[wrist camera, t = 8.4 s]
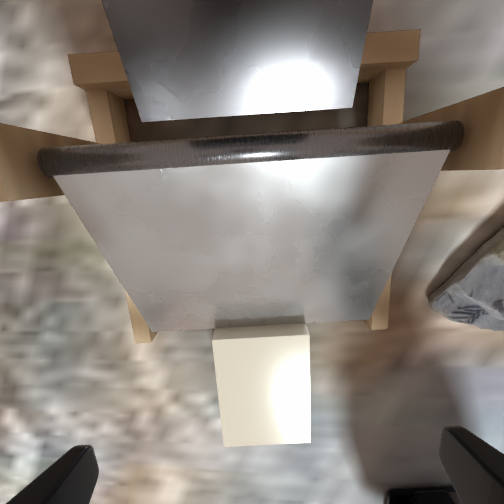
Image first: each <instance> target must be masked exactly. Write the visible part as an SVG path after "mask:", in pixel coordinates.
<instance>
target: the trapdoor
mask: <svg viewBox="0 0 504 504" xmlns="http://www.w3.org/2000/svg"><path fill="white" fill-rule="evenodd" d="M102 3H103V6H104V9H105V12H106V15H107V18H108V21H109V24H110V27H111V30H112V33H113V36H114V39H115V42H116V45H117V48H118V51H119V54H120V58H121V61H122V64H123V67H124V70H125V73H126V76H127V79H128V82H129V85H130V88H131V91H132V94H133V97H134V100H135V103H136V106H137V109H138V112H139V115H140V119H141V122H150V121H164V120H179V119H194V118H208V117H223V116H238V115H252V114H267V113H281V112H296V111H311V110H325V109H340V108H352V107H353V101H354V96H355V91H356V86H357V81H358V75H359V70H360V65H361V60H362V55H363V49H364V44H365V39H366V34H367V29H368V23H369V18H370V13H371V8H372V3H373V0H102ZM463 138H464V126H463V124H462V122H461V121H459V120H451V121H436V122H421V123H407V124H392V125H377V126H362V127H347V128H332V129H318V130H303V131H288V132H273V133H258V134H243V135H229V136H214V137H199V138H184V139H169V140H154V141H139V142H125V143H110V144H95V145H80V146H65V147H50V148H42V149H40V150H39V152H38V155H37V160H38V165H39V167H40V169H41V171H42V172H43V174H44V175H45V176H47V177H48V178H55V180H56V182H57V183H58V185H59V186H60V188H61V189H62V191H63V193H64V194H65V196H66V197H67V199H68V200H69V202H70V204H71V205H72V207H73V208H74V210H75V211H76V213H77V215H78V216H79V218H80V219H81V221H82V223H83V224H84V226H85V227H86V229H87V230H88V232H89V234H90V235H91V237H92V238H93V240H94V241H95V243H96V245H97V246H98V248H99V249H100V251H101V252H102V254H103V256H104V257H105V259H106V260H107V262H108V263H109V265H110V267H111V268H112V270H113V271H114V273H115V274H116V276H117V278H118V279H119V281H120V282H121V284H122V285H123V287H124V289H125V290H126V292H127V293H128V295H129V296H130V298H131V300H132V301H133V303H134V304H135V306H136V308H137V309H138V311H139V312H140V314H141V315H142V317H143V319H144V320H145V322H146V323H147V325H148V326H149V328H150V330H151V331H152V332H160V331H178V330H195V329H212V328H228V327H246V326H263V325H280V324H298V323H317V322H334V321H351V320H369V319H370V317H371V315H372V313H373V311H374V309H375V306H376V304H377V302H378V300H379V298H380V296H381V294H382V292H383V290H384V288H385V286H386V283H387V281H388V279H389V277H390V275H391V273H392V271H393V269H394V267H395V265H396V263H397V260H398V258H399V256H400V254H401V252H402V250H403V248H404V246H405V244H406V242H407V240H408V237H409V235H410V233H411V231H412V229H413V227H414V225H415V223H416V221H417V219H418V216H419V214H420V212H421V210H422V208H423V206H424V204H425V202H426V200H427V198H428V196H429V193H430V191H431V189H432V187H433V185H434V183H435V181H436V179H437V177H438V175H439V173H440V170H441V168H442V166H443V164H444V162H445V160H446V158H447V156H448V154H449V152H454V151H456V150H457V149H458V148H459V146H460V145H461V143H462V141H463Z"/></svg>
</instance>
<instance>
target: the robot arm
mask: <svg viewBox="0 0 504 504" xmlns="http://www.w3.org/2000/svg"><path fill="white" fill-rule="evenodd" d="M439 453H440V458H441V461H442V464H443V466H444V468H445V470H446V472H447V474H448V476H449V478H450V480H451V482H452V484H453V486H454V487H440V488H419V489H399V490H391V491H389V492H388V493H387V502H386V504H504V454H503V453H501V452H500V451H498V450H497V449H495V448H494V447H492V446H491V445H489V444H488V443H486V442H485V441H483V440H482V439H480V438H479V437H477V436H476V435H474V434H473V433H471V432H470V431H468V430H467V429H465V428H463V427H461V426H447V427H444V428H443V430H442V436H441V442H440V449H439ZM98 474H99V468H98V464H97V460H96V456H95V453H94V449H93V447H92V446H91V445H77V446H74V447H73V448H71V449H70V450H69V451H68V452H66V453H65V454H64V455H63V456H62V457H61V458H59V459H58V460H57V461H56V462H55V463H53V464H52V465H51V466H50V467H49V468H48V469H46V470H45V471H44V472H43V473H42V474H40V475H39V476H38V477H37V478H36V479H35V480H33V481H32V482H31V483H30V484H29V485H27V486H26V487H25V488H24V489H23V490H22V491H20V492H19V493H18V494H17V495H16V496H14V497H13V498H12V499H11V500H10V501H9V502H7V503H6V504H89V502H90V500H91V497H92V494H93V491H94V488H95V485H96V482H97V479H98Z"/></svg>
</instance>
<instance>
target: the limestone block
mask: <svg viewBox="0 0 504 504" xmlns="http://www.w3.org/2000/svg"><path fill="white" fill-rule="evenodd" d="M212 345H213V354H214V363H215V371H216V380H217V389H218V398H219V407H220V416H221V424H222V433H223V442H224V447H232V446H253V445H273V444H293V443H311V422H310V334H309V332H308V329H307V326H306V323H298V324H280V325H263V326H246V327H228V328H215V330H214V334H213V338H212Z"/></svg>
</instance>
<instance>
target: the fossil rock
mask: <svg viewBox="0 0 504 504" xmlns="http://www.w3.org/2000/svg"><path fill="white" fill-rule="evenodd" d="M428 299H429V302H430V304H431V306H432V307H433V309H434V310H436V311H438V312H440V313H441V314H442V315H443V316H444V317H445V318H447V319H449V320H451V321H454V322H460V323H465V324H470V325H474V326H478V327H479V328H481V329H490V330H494V331H504V227H503V228H502V229H501V230H500V231H499V232H498V233H497V234H496V235H495V236H494V237H492V238H491V239H489V240H488V241H487V242H485V243H484V244H483V245H482V246H481V247H480V248H479V249H478V250H477V251H476V252H475V253H474V254H473V255H472V256H471V257H470V258H469V259H468V260H467V261H465V262H464V263H463V264H462V266H461V267H460V268H459V269H458V270H457V271H456V272H455V273H454V274H453V275H452V276H451V277H450V278H449V279H448V280H447V281H446V282H445V283H444V284H442V285H441V286H440V287H439V288H438V289H436V290H435V291H434V292H432V293H431V295H430V297H429V298H428Z"/></svg>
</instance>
